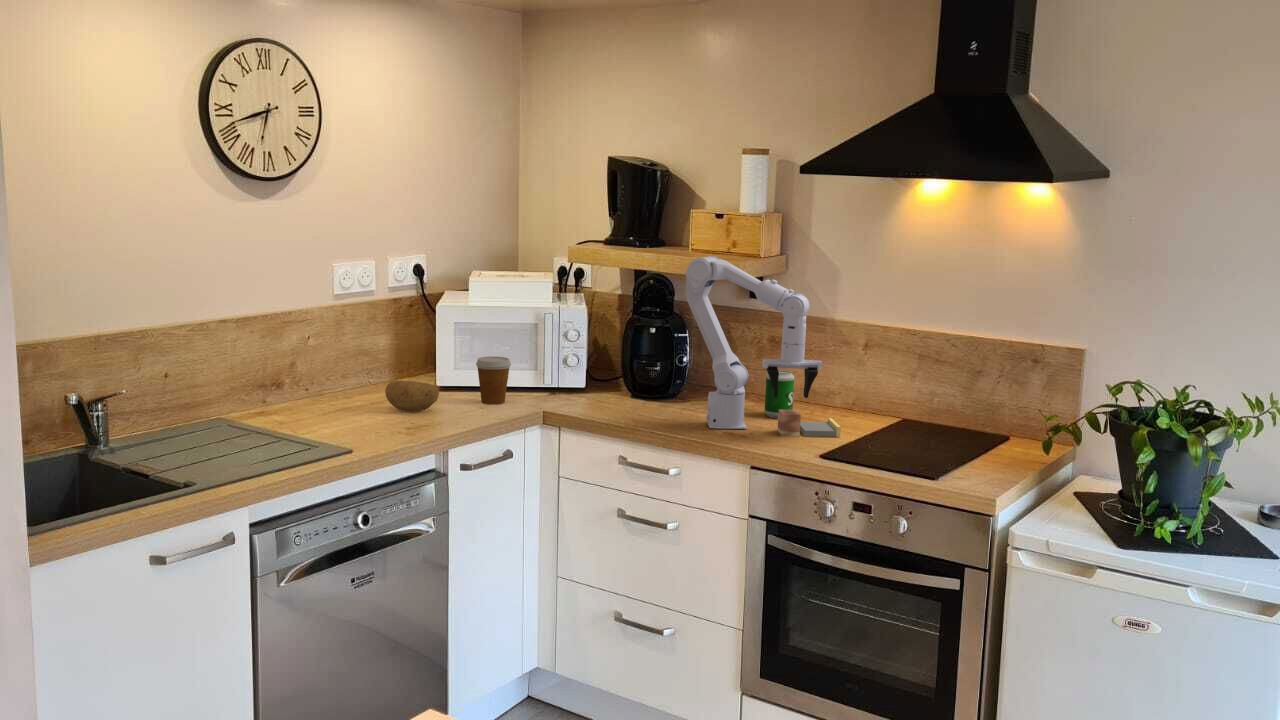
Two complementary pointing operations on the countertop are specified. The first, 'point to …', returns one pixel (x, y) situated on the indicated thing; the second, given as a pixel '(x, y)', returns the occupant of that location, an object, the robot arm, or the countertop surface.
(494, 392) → the disposable coffee cup
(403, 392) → the potato
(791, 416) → the brown rectangular block
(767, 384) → the soda can
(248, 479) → the countertop surface
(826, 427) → the dock
